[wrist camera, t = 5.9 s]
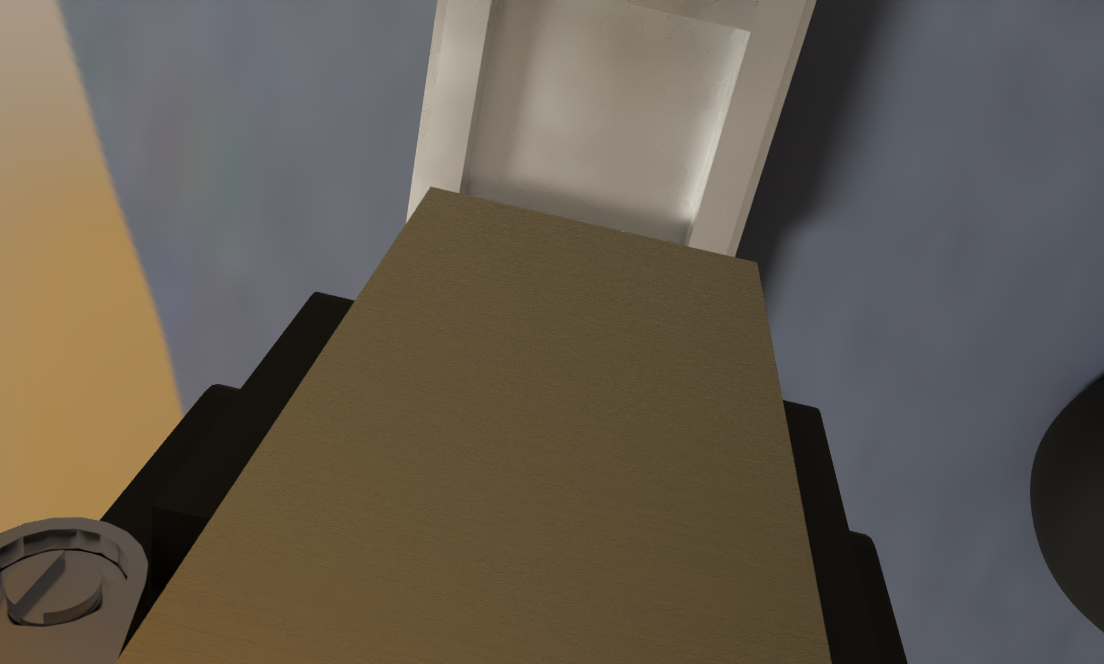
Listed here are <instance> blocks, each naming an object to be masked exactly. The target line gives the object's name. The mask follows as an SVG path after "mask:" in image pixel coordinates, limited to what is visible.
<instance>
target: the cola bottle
mask: <svg viewBox="0 0 1104 664" xmlns="http://www.w3.org/2000/svg"><path fill="white" fill-rule="evenodd" d="M1030 499H1031V510H1032V517H1033V523H1034V528H1035V532H1036V536H1037V540H1038V543H1039V546H1040V549H1041V552H1042V554H1043V557H1044V559H1045V561H1046V564H1047V566H1048V568H1049V570H1050V572H1051V573H1052V575H1053V577H1054V579H1055V580H1056V582H1057V583H1058V585H1059V586H1060V588H1061V589H1062V591H1063V592H1064V593H1065V595H1066V596H1067V597H1068V598H1069V600H1070V601H1071V602H1072V603H1073V604H1074V605H1075V606H1076V608H1077V609H1078V610H1079V611H1080V612H1081V613H1082V614H1083V615H1084V616H1085V617H1086V618H1088V619H1089V620H1090V621H1091V622H1092V623H1093V624H1094V625H1095V626H1097V627H1098V628H1099V629H1100V630H1101V631H1103V632H1104V379H1103V380H1101V381H1100V382H1098V383H1096V384H1095V385H1093V386H1091V387H1090V388H1088V389H1087V390H1085V391H1084V392H1083V393H1081V394H1080V395H1079V396H1078V397H1076V398H1075V399H1074V400H1073V401H1072V402H1071V403H1069V404H1068V405H1067V406H1066V407H1065V408H1064V409H1063V410H1062V411H1061V413H1060V414H1059V415H1058V416H1057V417H1056V418H1055V420H1054V421H1053V422H1052V424H1051V425H1050V427H1049V428H1048V430H1047V431H1046V433H1045V435H1044V437H1043V439H1042V441H1041V443H1040V445H1039V447H1038V450H1037V452H1036V455H1035V459H1034V462H1033V467H1032V473H1031V483H1030Z"/></svg>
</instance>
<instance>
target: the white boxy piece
mask: <svg viewBox="0 0 1104 664" xmlns="http://www.w3.org/2000/svg"><path fill="white" fill-rule="evenodd" d="M816 1H817V0H438V2H437V9H436V16H435V23H434V30H433V37H432V44H431V51H430V58H429V65H428V72H427V79H426V86H425V93H424V100H423V107H422V115H421V122H420V129H419V136H418V143H417V150H416V157H415V164H414V171H413V178H412V185H411V192H410V199H409V206H408V213H407V220H406V223H407V222H408V220H409V218H410V217H411V215H412V214H413V212H414V211H415V209H416V208H417V206H418V205H419V203H420V202H421V200H422V199H423V197H424V196H425V194H426V193H427V191H428V190H429V188H430V187H435V188H439V189H443V190H448V191H452V192H456V193H461V194H465V195H469V196H473V197H478V198H482V199H486V200H491V201H495V202H499V203H504V204H508V205H512V206H517V207H521V208H525V209H529V210H534V211H538V212H542V213H547V214H551V215H555V216H560V217H564V218H568V219H572V220H577V221H581V222H585V223H590V224H594V225H598V226H603V227H607V228H611V229H615V230H620V231H624V232H628V233H633V234H637V235H641V236H646V237H650V238H654V239H659V240H663V241H667V242H671V243H676V244H680V245H684V246H689V247H693V248H697V249H702V250H706V251H710V252H714V253H719V254H723V255H727V256H732V257H735V255H736V252H737V249H738V245H739V242H740V239H741V236H742V233H743V230H744V227H745V224H746V220H747V217H748V214H749V211H750V208H751V205H752V202H753V198H754V195H755V192H756V189H757V186H758V183H759V180H760V176H761V173H762V170H763V167H764V164H765V161H766V158H767V154H768V151H769V148H770V145H771V142H772V139H773V136H774V132H775V129H776V126H777V123H778V120H779V117H780V114H781V110H782V107H783V104H784V101H785V98H786V95H787V92H788V89H789V85H790V82H791V79H792V76H793V73H794V70H795V67H796V63H797V60H798V57H799V54H800V51H801V48H802V45H803V41H804V38H805V35H806V32H807V29H808V26H809V23H810V19H811V16H812V13H813V10H814V7H815V4H816Z"/></svg>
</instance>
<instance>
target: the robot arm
mask: <svg viewBox="0 0 1104 664" xmlns="http://www.w3.org/2000/svg"><path fill="white" fill-rule="evenodd" d="M354 302H355V301H354V300H350V299H346V298H341V297H337V296H333V295H328V294H324V293H320V292H314V293H313V294H312V295H311V297H310V298H309V299H308V301H307V302H306V303H305V305H304V306H303V307H302V309H301V310H300V311H299V312H298V314H297V315H296V316H295V318H294V319H293V320H292V322H291V323H290V324H289V326H288V327H287V328H286V330H285V331H284V332H283V334H282V335H281V336H280V338H279V339H278V340H277V342H276V343H275V344H274V345H273V347H272V348H271V349H270V351H269V352H268V353H267V355H266V356H265V357H264V359H263V360H262V361H261V363H260V364H259V365H258V367H257V368H256V369H255V371H254V372H253V373H252V374H251V376H250V377H249V378H248V380H247V381H246V382H245V384H244V385H243V386H242V388H241V389H238V388H234V387H229V386H225V385H221V384H216V385H212V386H211V387H209V388H208V389H207V390H206V391H205V392H204V393H203V395H202V396H201V397H200V398H199V399H198V401H197V402H196V403H195V404H194V406H193V407H192V408H191V409H190V410H189V412H188V413H187V414H186V415H185V417H184V418H183V419H182V420H181V421H180V423H179V424H178V425H177V426H176V428H175V429H174V430H173V431H172V432H171V434H170V435H169V436H168V437H167V439H166V440H165V441H164V442H163V444H162V445H161V446H160V447H159V449H158V450H157V451H156V452H155V453H154V455H153V456H152V457H151V458H150V460H149V461H148V462H147V463H146V464H145V466H144V467H143V468H142V469H141V470H140V472H139V473H138V474H137V475H136V477H135V478H134V479H133V480H132V482H131V483H130V484H129V485H128V487H127V488H126V489H125V490H124V491H123V493H122V494H121V495H120V496H119V497H118V499H117V500H116V501H115V502H114V504H113V505H112V506H111V507H110V508H109V510H108V511H107V512H106V513H105V515H104V516H103V517H102V518H101V519H100V521H97V520H92V519H88V518H82V517H76V518H75V517H74V518H73V517H70V518H50V519H44V520H39V521H34V522H30V523H25V524H22V525H20V526H17V527H15V528H12V529H9V530H7V531H4V532H2V533H0V664H115V663H116V661H117V660H118V658H119V657H120V655H121V654H122V652H123V651H124V649H125V648H126V646H127V645H128V643H129V642H130V640H131V639H132V637H133V636H134V634H135V633H136V631H137V630H138V628H139V627H140V625H141V624H142V622H143V621H144V619H145V618H146V616H147V615H148V613H149V612H150V610H151V608H152V607H153V605H154V604H155V602H156V601H157V599H158V598H159V596H160V595H161V593H162V592H163V590H164V589H165V587H166V586H167V584H168V583H169V581H170V580H171V578H172V577H173V575H174V574H175V572H176V571H177V569H178V568H179V566H180V565H181V563H182V562H183V560H184V559H185V557H186V556H187V554H188V553H189V551H190V550H191V548H192V547H193V545H194V543H195V542H196V540H197V539H198V537H199V536H200V534H201V533H202V531H203V530H204V528H205V527H206V525H207V524H208V522H209V521H210V519H211V518H212V516H213V515H214V513H215V512H216V510H217V509H218V507H219V506H220V504H221V503H222V501H223V500H224V498H225V497H226V495H227V494H228V492H229V491H230V489H231V488H232V486H233V485H234V483H235V482H236V480H237V478H238V477H239V475H240V474H241V472H242V471H243V469H244V468H245V466H246V465H247V463H248V462H249V460H250V459H251V457H252V456H253V454H254V453H255V451H256V450H257V448H258V447H259V445H260V444H261V442H262V441H263V439H264V438H265V436H266V435H267V433H268V432H269V430H270V429H271V427H272V426H273V424H274V423H275V421H276V420H277V418H278V417H279V415H280V413H281V412H282V410H283V409H284V407H285V406H286V404H287V403H288V401H289V400H290V398H291V397H292V395H293V394H294V392H295V391H296V389H297V388H298V386H299V385H300V383H301V382H302V380H303V379H304V377H305V376H306V374H307V373H308V371H309V370H310V368H311V367H312V365H313V364H314V362H315V361H316V359H317V358H318V356H319V355H320V353H321V352H322V350H323V348H324V347H325V345H326V344H327V342H328V341H329V339H330V338H331V336H332V335H333V333H334V332H335V330H336V329H337V327H338V326H339V324H340V323H341V321H342V320H343V318H344V317H345V315H346V314H347V312H348V311H349V309H350V308H351V306H352V305H353V303H354ZM783 404H784V410H785V415H786V420H787V426H788V431H789V437H790V442H791V447H792V453H793V458H794V463H795V469H796V474H797V480H798V485H799V490H800V496H801V501H802V506H803V512H804V517H805V523H806V528H807V533H808V539H809V544H810V550H811V555H812V560H813V566H814V571H815V576H816V582H817V587H818V593H819V598H820V603H821V609H822V614H823V619H824V625H825V630H826V636H827V641H828V646H829V652H830V657H831V662H832V664H907V660H906V656H905V653H904V649H903V645H902V642H901V638H900V635H899V631H898V627H897V624H896V620H895V616H894V613H893V609H892V605H891V602H890V598H889V595H888V591H887V587H886V584H885V580H884V576H883V573H882V569H881V566H880V562H879V558H878V555H877V551H876V548H875V546H874V543H873V541H872V539H871V538H870V537H869V536H867V535H866V534H862V533H857V532H853V531H849V527H848V523H847V519H846V515H845V511H844V507H843V503H842V499H841V495H840V491H839V487H838V483H837V479H836V474H835V470H834V466H833V462H832V458H831V454H830V450H829V446H828V442H827V438H826V434H825V430H824V426H823V422H822V417H821V413H820V411H819V409H818V408H815V407H811V406H806V405H802V404H798V403H794V402H789V401H785V400H783Z"/></svg>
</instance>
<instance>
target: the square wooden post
mask: <svg viewBox="0 0 1104 664" xmlns="http://www.w3.org/2000/svg"><path fill="white" fill-rule="evenodd" d="M115 664H832V662H831V657H830V652H829V646H828V641H827V636H826V630H825V625H824V619H823V614H822V609H821V603H820V598H819V593H818V587H817V582H816V576H815V571H814V566H813V560H812V555H811V550H810V544H809V539H808V533H807V528H806V523H805V517H804V512H803V506H802V501H801V496H800V490H799V485H798V480H797V474H796V469H795V463H794V458H793V453H792V447H791V442H790V437H789V431H788V426H787V420H786V415H785V410H784V404H783V399H782V394H781V388H780V383H779V377H778V372H777V367H776V361H775V356H774V351H773V345H772V340H771V334H770V329H769V324H768V318H767V313H766V307H765V302H764V297H763V291H762V286H761V281H760V275H759V270H758V264H757V262H753V261H749V260H745V259H740V258H736V257H732V256H727V255H723V254H719V253H714V252H710V251H706V250H702V249H697V248H693V247H689V246H684V245H680V244H676V243H671V242H667V241H663V240H659V239H654V238H650V237H646V236H641V235H637V234H633V233H628V232H624V231H620V230H615V229H611V228H607V227H603V226H598V225H594V224H590V223H585V222H581V221H577V220H572V219H568V218H564V217H560V216H555V215H551V214H547V213H542V212H538V211H534V210H529V209H525V208H521V207H517V206H512V205H508V204H504V203H499V202H495V201H491V200H486V199H482V198H478V197H473V196H469V195H465V194H461V193H456V192H452V191H448V190H443V189H439V188H435V187H430V188H429V190H428V191H427V193H426V194H425V196H424V197H423V199H422V200H421V202H420V203H419V205H418V206H417V208H416V209H415V211H414V212H413V214H412V215H411V217H410V218H409V220H408V222H407V223H406V225H405V226H404V228H403V229H402V231H401V232H400V234H399V235H398V237H397V238H396V240H395V241H394V243H393V244H392V246H391V247H390V249H389V250H388V252H387V253H386V255H385V256H384V258H383V259H382V261H381V262H380V264H379V265H378V267H377V268H376V270H375V271H374V273H373V274H372V276H371V277H370V279H369V280H368V282H367V283H366V285H365V287H364V288H363V290H362V291H361V293H360V294H359V296H358V297H357V299H356V300H355V302H354V303H353V305H352V306H351V308H350V309H349V311H348V312H347V314H346V315H345V317H344V318H343V320H342V321H341V323H340V324H339V326H338V327H337V329H336V330H335V332H334V333H333V335H332V336H331V338H330V339H329V341H328V342H327V344H326V345H325V347H324V348H323V350H322V352H321V353H320V355H319V356H318V358H317V359H316V361H315V362H314V364H313V365H312V367H311V368H310V370H309V371H308V373H307V374H306V376H305V377H304V379H303V380H302V382H301V383H300V385H299V386H298V388H297V389H296V391H295V392H294V394H293V395H292V397H291V398H290V400H289V401H288V403H287V404H286V406H285V407H284V409H283V410H282V412H281V413H280V415H279V417H278V418H277V420H276V421H275V423H274V424H273V426H272V427H271V429H270V430H269V432H268V433H267V435H266V436H265V438H264V439H263V441H262V442H261V444H260V445H259V447H258V448H257V450H256V451H255V453H254V454H253V456H252V457H251V459H250V460H249V462H248V463H247V465H246V466H245V468H244V469H243V471H242V472H241V474H240V475H239V477H238V478H237V480H236V482H235V483H234V485H233V486H232V488H231V489H230V491H229V492H228V494H227V495H226V497H225V498H224V500H223V501H222V503H221V504H220V506H219V507H218V509H217V510H216V512H215V513H214V515H213V516H212V518H211V519H210V521H209V522H208V524H207V525H206V527H205V528H204V530H203V531H202V533H201V534H200V536H199V537H198V539H197V540H196V542H195V543H194V545H193V547H192V548H191V550H190V551H189V553H188V554H187V556H186V557H185V559H184V560H183V562H182V563H181V565H180V566H179V568H178V569H177V571H176V572H175V574H174V575H173V577H172V578H171V580H170V581H169V583H168V584H167V586H166V587H165V589H164V590H163V592H162V593H161V595H160V596H159V598H158V599H157V601H156V602H155V604H154V605H153V607H152V608H151V610H150V612H149V613H148V615H147V616H146V618H145V619H144V621H143V622H142V624H141V625H140V627H139V628H138V630H137V631H136V633H135V634H134V636H133V637H132V639H131V640H130V642H129V643H128V645H127V646H126V648H125V649H124V651H123V652H122V654H121V655H120V657H119V658H118V660H117V661H116V663H115Z"/></svg>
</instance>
